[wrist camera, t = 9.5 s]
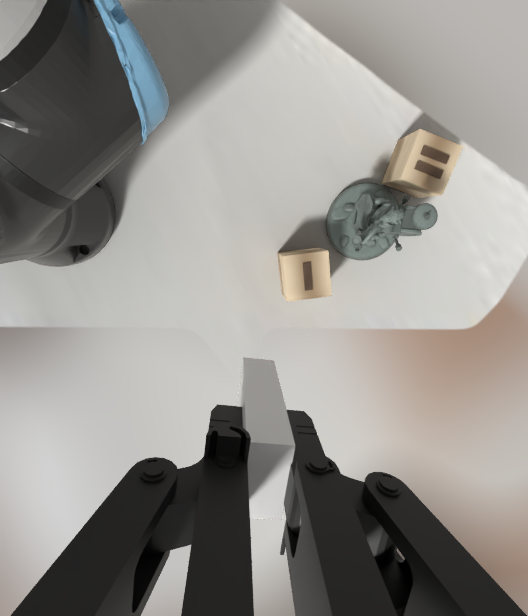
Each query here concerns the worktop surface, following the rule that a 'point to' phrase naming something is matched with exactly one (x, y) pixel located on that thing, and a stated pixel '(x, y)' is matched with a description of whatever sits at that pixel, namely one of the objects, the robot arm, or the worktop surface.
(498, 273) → the worktop surface
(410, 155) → the marked cube
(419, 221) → the figurine
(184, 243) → the worktop surface
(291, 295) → the marked cube
